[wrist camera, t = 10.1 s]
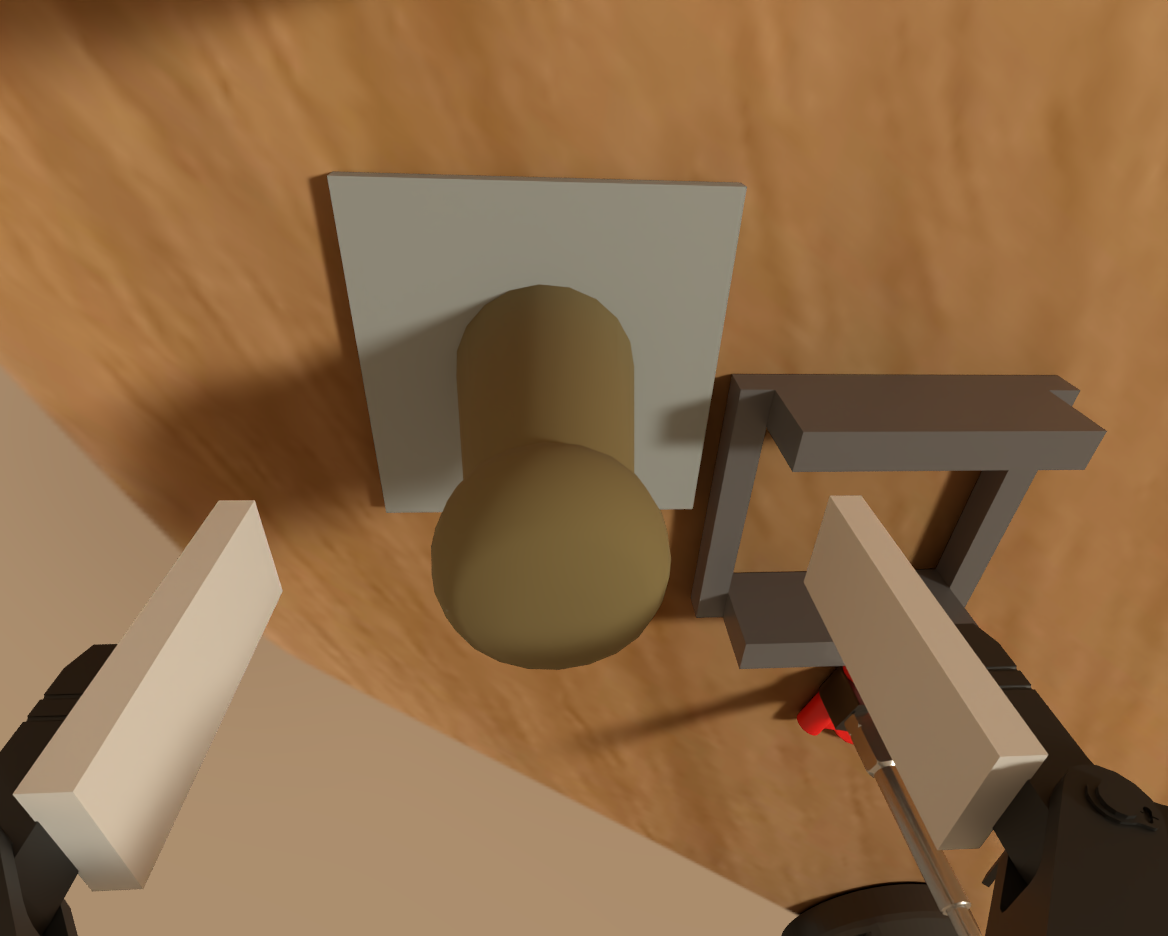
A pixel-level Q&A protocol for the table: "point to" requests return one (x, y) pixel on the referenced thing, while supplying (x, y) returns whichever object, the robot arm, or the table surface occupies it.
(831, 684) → the tow hook
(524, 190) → the mat
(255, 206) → the table surface
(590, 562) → the cork
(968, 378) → the grey square frame
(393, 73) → the table surface
